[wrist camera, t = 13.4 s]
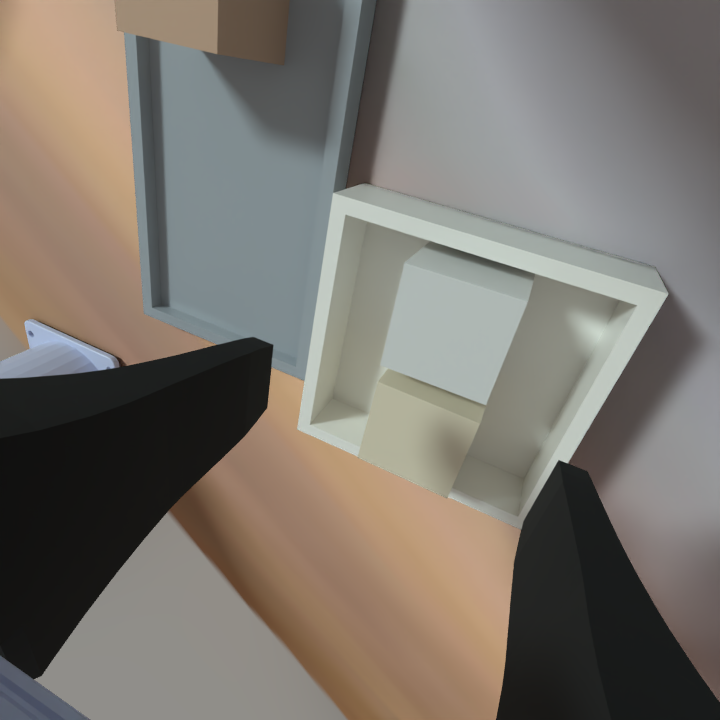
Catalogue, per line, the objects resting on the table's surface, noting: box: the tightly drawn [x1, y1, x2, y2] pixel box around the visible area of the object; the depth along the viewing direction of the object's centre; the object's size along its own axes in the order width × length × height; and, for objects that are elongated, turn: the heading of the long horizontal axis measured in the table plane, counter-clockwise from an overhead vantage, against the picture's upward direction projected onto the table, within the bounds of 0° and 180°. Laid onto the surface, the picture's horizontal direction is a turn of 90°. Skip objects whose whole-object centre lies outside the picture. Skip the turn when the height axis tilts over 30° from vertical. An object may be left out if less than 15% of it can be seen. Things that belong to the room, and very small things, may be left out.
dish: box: [297, 183, 668, 529], centre depth 19 cm, size 11×11×3 cm
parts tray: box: [124, 0, 377, 381], centre depth 20 cm, size 18×10×1 cm, turn 167°
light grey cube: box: [380, 241, 535, 405], centre depth 17 cm, size 4×4×4 cm
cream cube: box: [358, 369, 486, 498], centre depth 20 cm, size 4×4×4 cm
